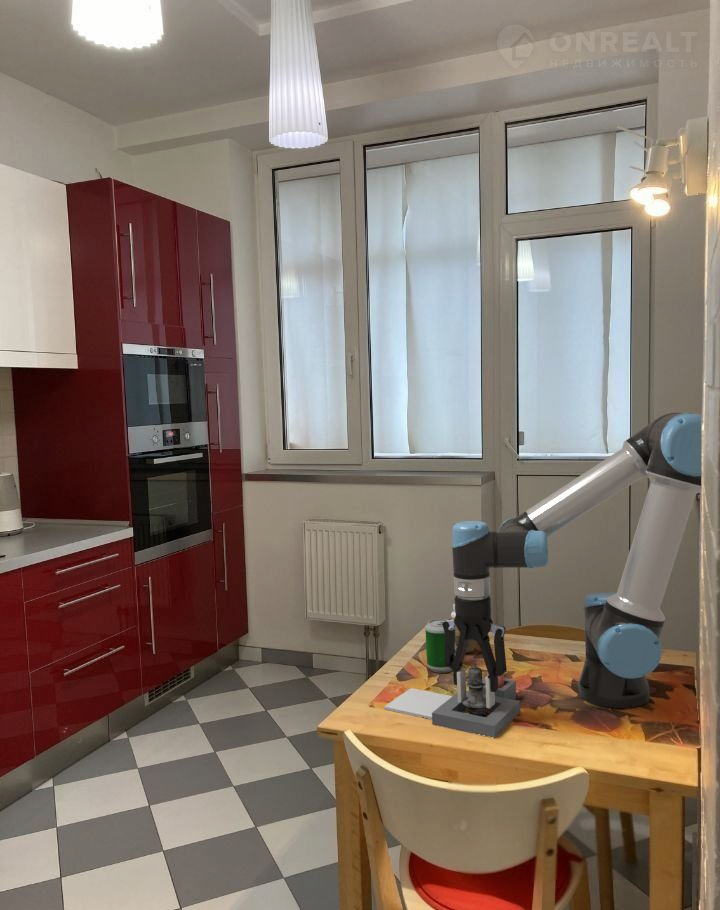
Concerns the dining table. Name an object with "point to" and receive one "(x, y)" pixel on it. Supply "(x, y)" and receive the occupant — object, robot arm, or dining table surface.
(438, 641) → the soda can
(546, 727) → the dining table surface
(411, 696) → the grey mat
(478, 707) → the dark grey figurine
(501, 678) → the plunger
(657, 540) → the robot arm
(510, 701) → the socket housing
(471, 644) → the brown potato
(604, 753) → the dining table surface
